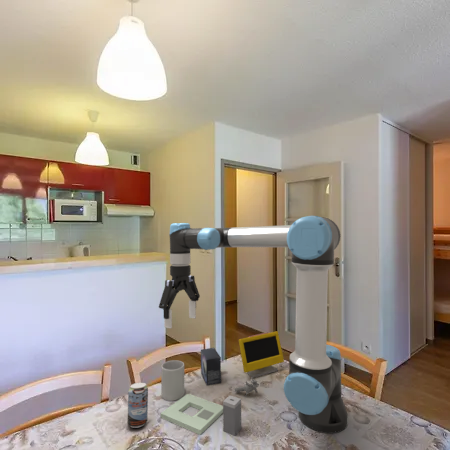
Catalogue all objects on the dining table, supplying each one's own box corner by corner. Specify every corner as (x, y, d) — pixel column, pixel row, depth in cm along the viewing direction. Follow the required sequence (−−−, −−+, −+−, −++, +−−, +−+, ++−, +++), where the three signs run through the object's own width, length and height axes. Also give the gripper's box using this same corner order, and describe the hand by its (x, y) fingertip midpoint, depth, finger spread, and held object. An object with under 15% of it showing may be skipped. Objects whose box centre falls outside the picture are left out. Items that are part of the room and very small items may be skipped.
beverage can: (127, 433, 91) (126, 392, 92) (128, 418, 99) (127, 381, 99) (148, 429, 93) (148, 389, 93) (147, 415, 100) (147, 378, 100)
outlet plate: (225, 410, 102) (225, 406, 102) (200, 434, 90) (200, 429, 90) (187, 397, 111) (187, 393, 111) (160, 417, 99) (160, 413, 99)
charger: (241, 428, 93) (241, 398, 93) (234, 435, 90) (234, 404, 90) (230, 423, 95) (229, 394, 96) (223, 431, 92) (223, 401, 92)
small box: (200, 373, 129) (199, 349, 129) (214, 371, 131) (214, 347, 131) (205, 385, 119) (205, 359, 119) (221, 383, 121) (221, 356, 121)
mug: (184, 400, 109) (184, 369, 109) (160, 401, 108) (160, 370, 108) (185, 383, 121) (184, 355, 121) (163, 384, 120) (163, 356, 120)
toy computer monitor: (245, 381, 122) (245, 341, 122) (235, 373, 129) (235, 336, 129) (284, 369, 132) (284, 333, 132) (273, 362, 139) (272, 328, 139)
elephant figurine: (240, 386, 119) (262, 381, 116) (242, 403, 114) (264, 398, 112) (229, 378, 112) (251, 372, 110) (229, 395, 108) (253, 390, 105)
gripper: (193, 261, 125) (193, 313, 124) (147, 268, 104) (148, 330, 103) (208, 262, 121) (208, 315, 120) (164, 269, 100) (164, 334, 99)
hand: (180, 322), depth 112 cm, fingers open, 13 cm apart
